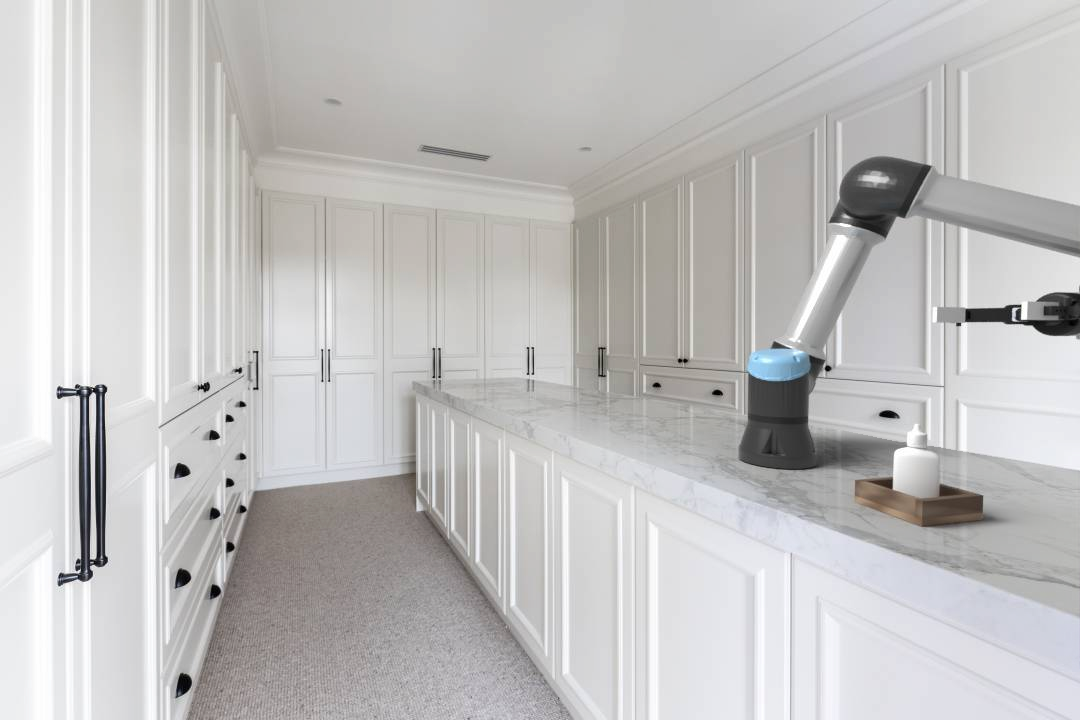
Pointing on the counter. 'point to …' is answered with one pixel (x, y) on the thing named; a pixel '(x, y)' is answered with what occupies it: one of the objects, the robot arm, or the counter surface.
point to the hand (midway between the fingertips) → (975, 312)
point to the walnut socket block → (920, 503)
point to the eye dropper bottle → (916, 467)
